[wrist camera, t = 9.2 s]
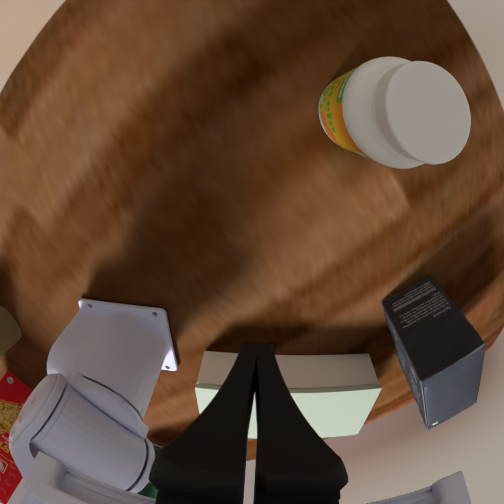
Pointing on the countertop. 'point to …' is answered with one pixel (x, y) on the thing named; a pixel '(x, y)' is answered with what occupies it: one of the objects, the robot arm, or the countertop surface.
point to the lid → (317, 407)
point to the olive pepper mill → (8, 331)
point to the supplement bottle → (397, 112)
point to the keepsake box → (299, 370)
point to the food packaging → (3, 417)
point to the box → (435, 350)
